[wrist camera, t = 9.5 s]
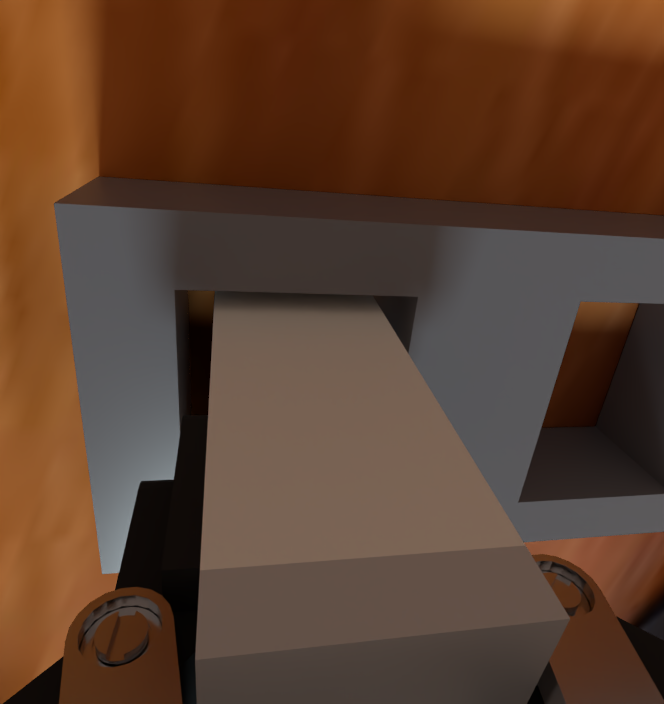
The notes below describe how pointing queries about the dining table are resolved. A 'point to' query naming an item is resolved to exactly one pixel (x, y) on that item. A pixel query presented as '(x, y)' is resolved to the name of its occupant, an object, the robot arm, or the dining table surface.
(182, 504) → the robot arm
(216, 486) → the plug
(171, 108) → the dining table surface
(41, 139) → the dining table surface
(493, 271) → the power strip
